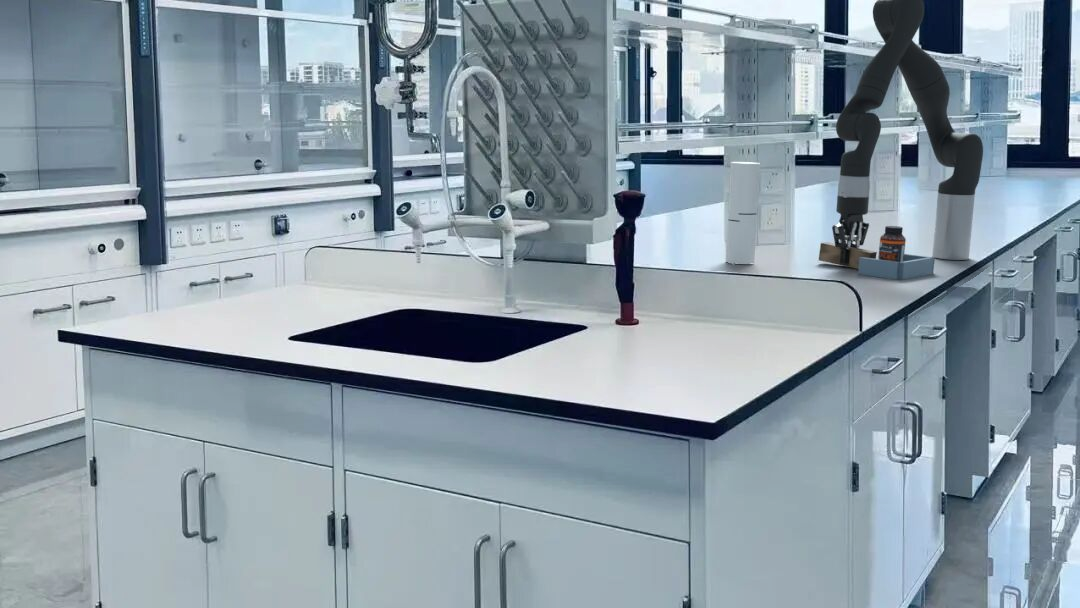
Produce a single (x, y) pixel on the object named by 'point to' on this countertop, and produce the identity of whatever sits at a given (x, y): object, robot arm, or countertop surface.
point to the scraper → (833, 254)
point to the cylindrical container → (742, 212)
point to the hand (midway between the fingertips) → (848, 263)
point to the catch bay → (897, 267)
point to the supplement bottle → (892, 244)
